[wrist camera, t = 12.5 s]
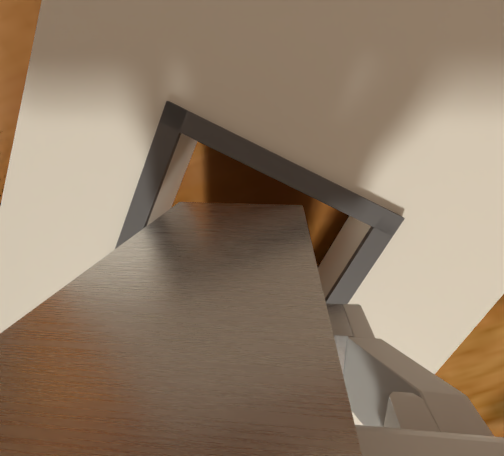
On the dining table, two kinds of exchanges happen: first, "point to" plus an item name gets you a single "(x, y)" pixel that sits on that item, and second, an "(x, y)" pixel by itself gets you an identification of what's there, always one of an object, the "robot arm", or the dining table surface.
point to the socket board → (273, 143)
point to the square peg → (183, 347)
